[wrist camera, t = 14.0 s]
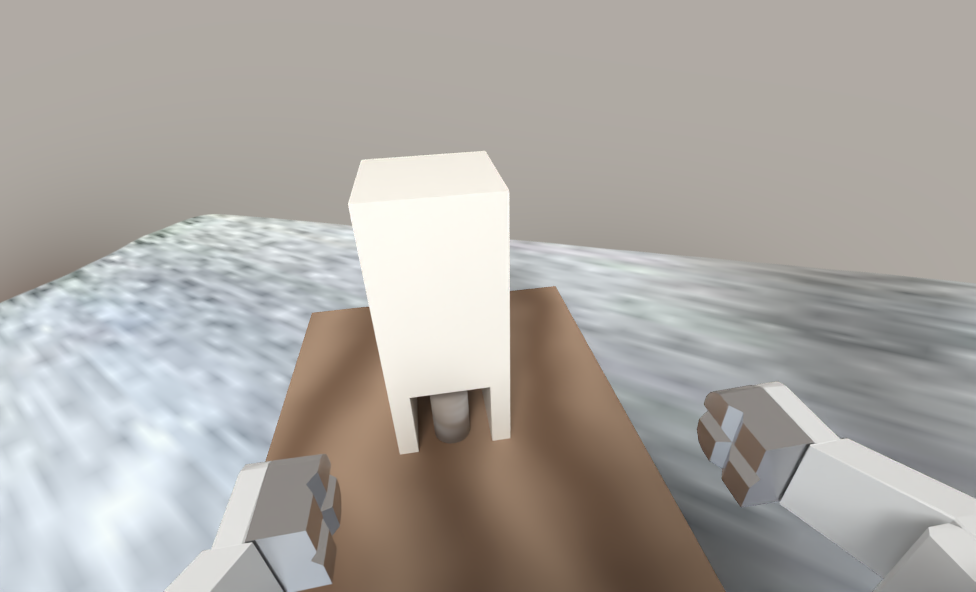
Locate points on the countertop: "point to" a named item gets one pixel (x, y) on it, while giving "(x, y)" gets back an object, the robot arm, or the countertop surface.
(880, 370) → the countertop surface
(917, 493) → the robot arm
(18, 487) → the countertop surface
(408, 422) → the housing
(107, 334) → the countertop surface
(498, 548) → the stub board
